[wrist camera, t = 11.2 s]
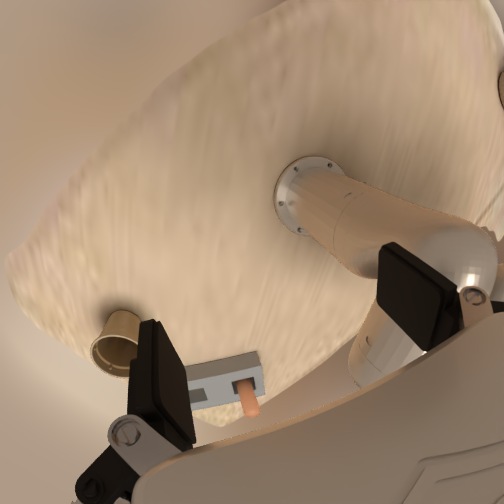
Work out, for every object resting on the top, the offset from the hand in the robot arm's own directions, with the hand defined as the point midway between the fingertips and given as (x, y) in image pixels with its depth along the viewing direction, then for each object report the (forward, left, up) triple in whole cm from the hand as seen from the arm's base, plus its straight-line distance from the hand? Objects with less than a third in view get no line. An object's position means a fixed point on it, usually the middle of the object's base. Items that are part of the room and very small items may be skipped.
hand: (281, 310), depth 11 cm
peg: (0, +40, -32) cm, 51 cm away
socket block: (+5, +40, -32) cm, 51 cm away
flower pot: (+18, +22, -32) cm, 43 cm away
